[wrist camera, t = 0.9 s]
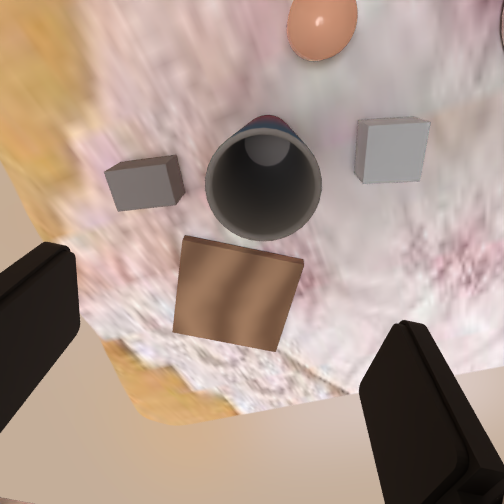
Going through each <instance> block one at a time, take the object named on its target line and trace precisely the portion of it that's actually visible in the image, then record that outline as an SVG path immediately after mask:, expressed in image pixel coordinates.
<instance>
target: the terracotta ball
mask: <svg viewBox="0 0 504 504" xmlns="http://www.w3.org/2000/svg"><path fill="white" fill-rule="evenodd" d="M356 23H357V4H356V0H294V1H293V3H292V6H291V9H290V13H289V17H288V21H287V37H288V41H289V43H290V46H291V48H292V49H293V51H294V52H295V53H296V54H297V55H298V56H299V57H301V58H303V59H305V60H308V61H320V60H323V59H327V58H330V57H332V56H334V55H336V54H337V53H339V52H340V51H341V50H342V49H343V48H344V47H345V46H346V45H347V44H348V42H349V41H350V39H351V37H352V35H353V33H354V30H355V28H356Z"/></svg>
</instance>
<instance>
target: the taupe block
mask: <svg viewBox="0 0 504 504" xmlns="http://www.w3.org/2000/svg"><path fill="white" fill-rule="evenodd" d="M104 174H105V177H106V179H107V182H108V185H109V188H110V191H111V194H112V197H113V199H114V202H115V205H116V208H117V211H118V212H119V211H128V210H136V209H145V208H154V207H163V206H172V205H176V204H177V203H178V201H179V200H180V199H181V197H182V196H183V195H184V193H185V189H184V185H183V181H182V177H181V173H180V169H179V164H178V160H177V156H176V155H171V156H164V157H156V158H148V159H141V160H133V161H125V162H120V163H118V164H117V165H115V166H113V167H111V168H110V169H108V170H106V171H104Z"/></svg>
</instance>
